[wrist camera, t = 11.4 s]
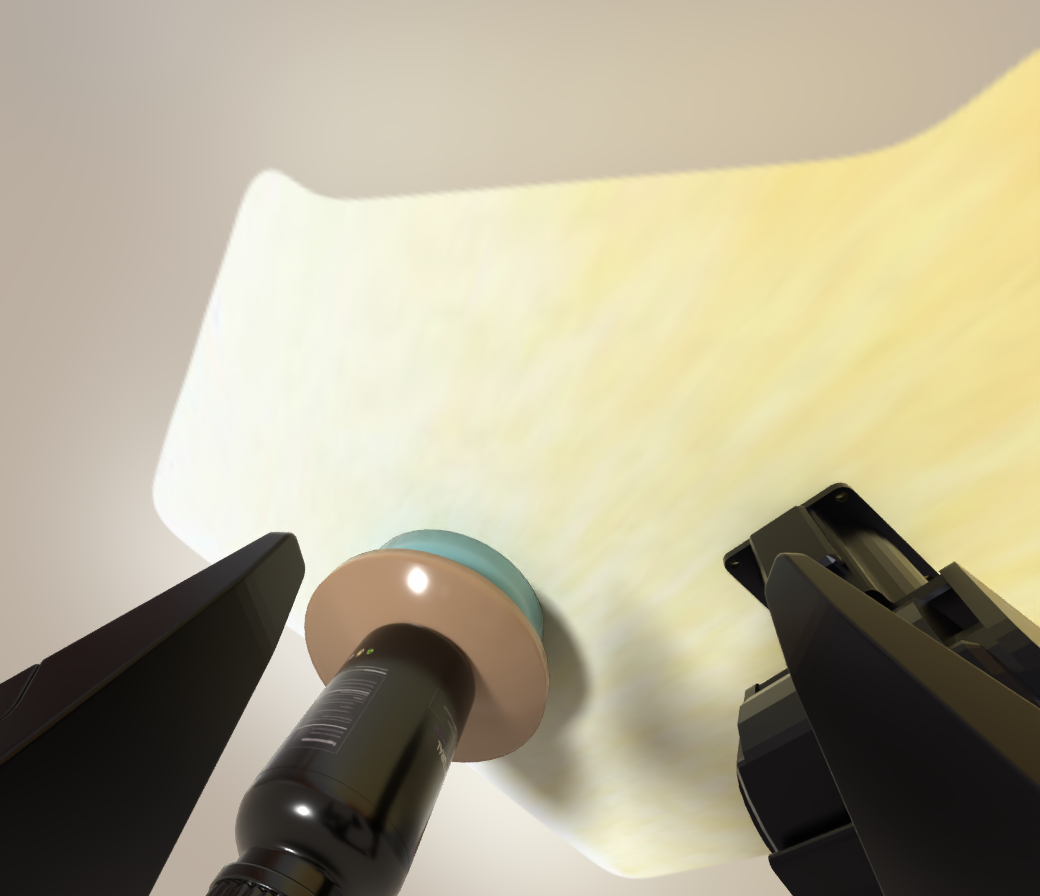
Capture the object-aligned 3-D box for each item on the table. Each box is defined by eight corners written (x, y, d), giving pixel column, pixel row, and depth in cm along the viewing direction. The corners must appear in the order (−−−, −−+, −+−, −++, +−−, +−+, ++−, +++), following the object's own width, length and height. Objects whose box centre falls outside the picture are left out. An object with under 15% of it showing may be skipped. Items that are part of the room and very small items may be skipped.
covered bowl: (610, 632, 26) (604, 699, 22) (467, 724, 32) (442, 791, 28) (428, 468, 25) (386, 507, 21) (316, 595, 31) (267, 645, 27)
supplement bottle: (504, 700, 23) (387, 1071, 13) (409, 724, 26) (245, 1047, 15) (431, 600, 22) (230, 918, 11) (339, 635, 25) (104, 920, 14)
